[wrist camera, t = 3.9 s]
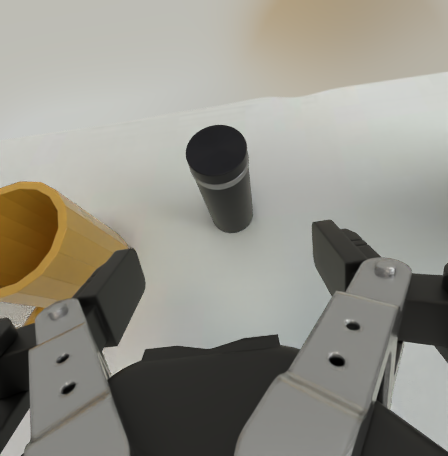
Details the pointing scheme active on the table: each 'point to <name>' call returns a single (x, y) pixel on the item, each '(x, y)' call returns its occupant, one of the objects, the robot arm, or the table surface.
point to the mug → (48, 246)
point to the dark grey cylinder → (222, 175)
